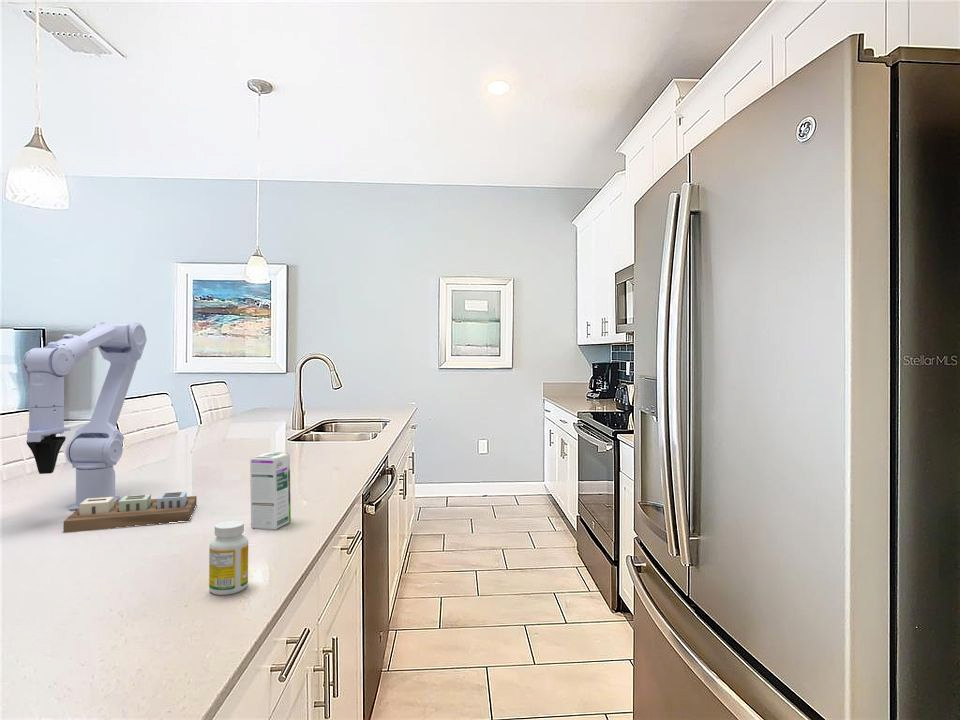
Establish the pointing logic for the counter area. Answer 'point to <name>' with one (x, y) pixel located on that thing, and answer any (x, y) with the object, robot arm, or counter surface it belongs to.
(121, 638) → the counter surface
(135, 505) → the tile two
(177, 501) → the tile three
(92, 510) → the tile one
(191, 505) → the frame
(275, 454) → the syrup box
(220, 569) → the supplement bottle
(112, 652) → the counter surface
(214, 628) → the counter surface
